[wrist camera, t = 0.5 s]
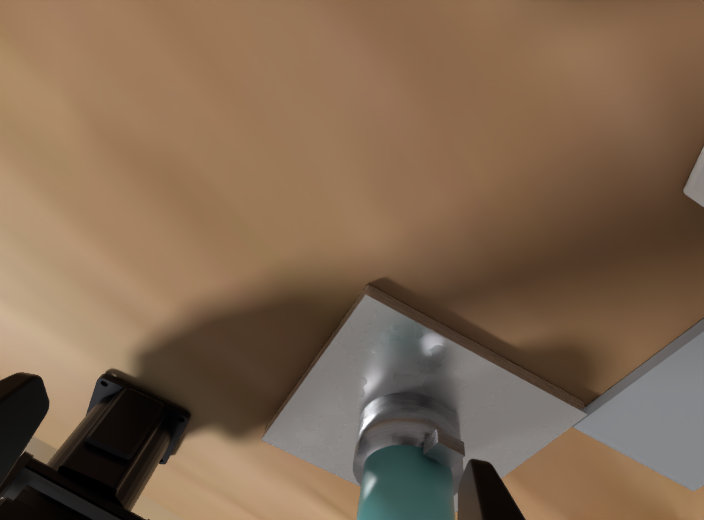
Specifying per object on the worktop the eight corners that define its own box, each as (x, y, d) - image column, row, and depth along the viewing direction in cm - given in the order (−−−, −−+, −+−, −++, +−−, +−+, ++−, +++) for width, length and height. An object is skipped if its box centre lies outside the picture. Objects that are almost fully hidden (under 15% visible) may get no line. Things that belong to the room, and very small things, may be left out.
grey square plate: (439, 509, 32) (441, 585, 28) (265, 427, 30) (240, 495, 26) (582, 400, 25) (613, 479, 21) (367, 283, 23) (355, 344, 19)
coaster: (688, 481, 27) (693, 491, 26) (569, 418, 26) (573, 427, 25) (840, 398, 22) (850, 407, 22) (705, 316, 21) (712, 324, 21)
